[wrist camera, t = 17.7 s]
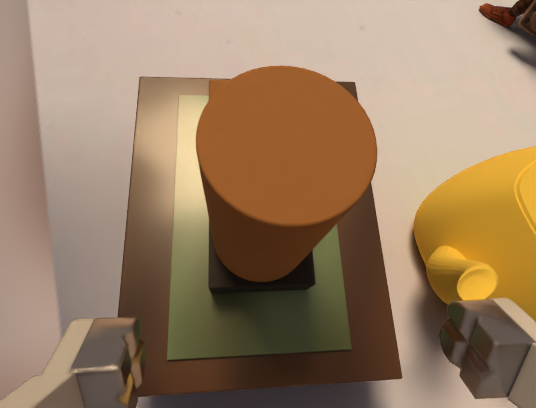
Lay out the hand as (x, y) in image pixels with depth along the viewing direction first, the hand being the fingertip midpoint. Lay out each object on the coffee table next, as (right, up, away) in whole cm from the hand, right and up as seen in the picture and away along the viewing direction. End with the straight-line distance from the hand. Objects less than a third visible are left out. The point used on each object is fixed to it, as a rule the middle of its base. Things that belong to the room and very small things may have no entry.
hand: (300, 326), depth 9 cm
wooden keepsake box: (-2, +1, +16) cm, 16 cm away
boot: (-2, +3, +11) cm, 11 cm away
